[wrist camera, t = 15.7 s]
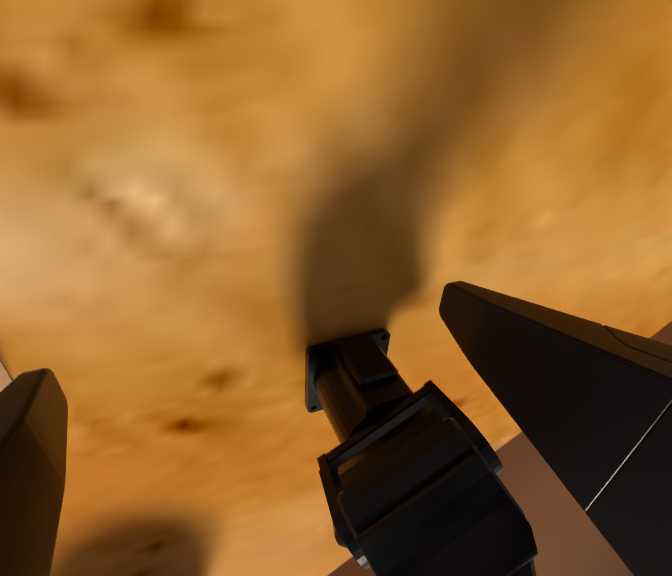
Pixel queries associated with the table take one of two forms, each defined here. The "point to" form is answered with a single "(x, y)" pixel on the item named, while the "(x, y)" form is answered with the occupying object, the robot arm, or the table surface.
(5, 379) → the socket strip
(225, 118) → the table surface
